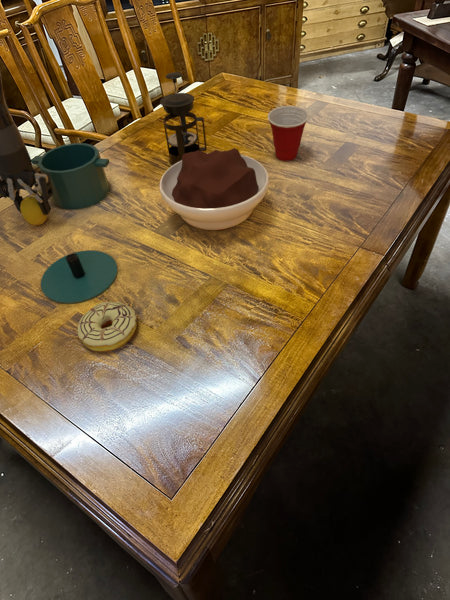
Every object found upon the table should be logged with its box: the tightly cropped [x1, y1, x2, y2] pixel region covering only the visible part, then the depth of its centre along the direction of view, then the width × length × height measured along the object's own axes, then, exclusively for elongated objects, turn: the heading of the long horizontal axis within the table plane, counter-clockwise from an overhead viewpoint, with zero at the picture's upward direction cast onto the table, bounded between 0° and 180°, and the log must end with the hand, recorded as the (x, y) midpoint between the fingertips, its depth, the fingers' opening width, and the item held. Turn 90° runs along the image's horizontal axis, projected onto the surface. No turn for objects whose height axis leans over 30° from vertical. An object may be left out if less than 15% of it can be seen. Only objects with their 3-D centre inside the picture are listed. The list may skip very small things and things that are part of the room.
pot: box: [31, 142, 110, 210], centre depth 107 cm, size 15×20×10 cm
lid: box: [40, 249, 119, 305], centre depth 86 cm, size 16×16×6 cm
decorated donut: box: [77, 301, 138, 352], centre depth 76 cm, size 10×11×4 cm
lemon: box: [20, 195, 48, 226], centre depth 100 cm, size 6×6×8 cm
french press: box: [159, 71, 208, 166], centre depth 112 cm, size 12×9×23 cm
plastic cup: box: [267, 105, 310, 162], centre depth 114 cm, size 11×11×12 cm
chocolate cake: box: [158, 147, 270, 231], centre depth 96 cm, size 25×25×15 cm
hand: (35, 212), depth 100 cm, fingers closed on lemon, 5 cm apart
